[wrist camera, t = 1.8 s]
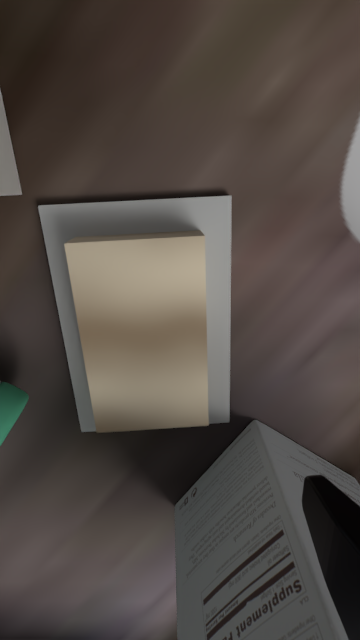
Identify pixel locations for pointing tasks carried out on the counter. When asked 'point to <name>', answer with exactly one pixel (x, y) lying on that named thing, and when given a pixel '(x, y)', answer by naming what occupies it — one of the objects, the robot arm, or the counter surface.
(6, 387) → the milk bottle
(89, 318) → the board
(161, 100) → the counter surface
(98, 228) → the mat
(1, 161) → the dish
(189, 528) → the supplement box
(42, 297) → the counter surface
